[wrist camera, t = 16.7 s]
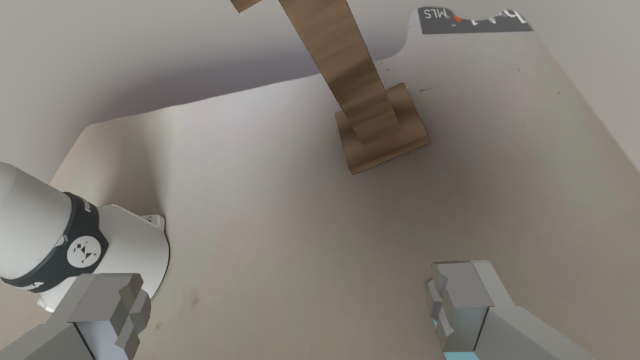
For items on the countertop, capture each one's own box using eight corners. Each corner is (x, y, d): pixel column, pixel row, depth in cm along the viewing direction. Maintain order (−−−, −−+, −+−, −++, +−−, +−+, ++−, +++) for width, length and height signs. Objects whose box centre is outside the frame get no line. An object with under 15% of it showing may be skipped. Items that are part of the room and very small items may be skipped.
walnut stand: (433, 148, 45) (351, -78, 26) (354, 180, 47) (227, -5, 28) (404, 85, 52) (324, -127, 33) (337, 116, 55) (228, -65, 36)
